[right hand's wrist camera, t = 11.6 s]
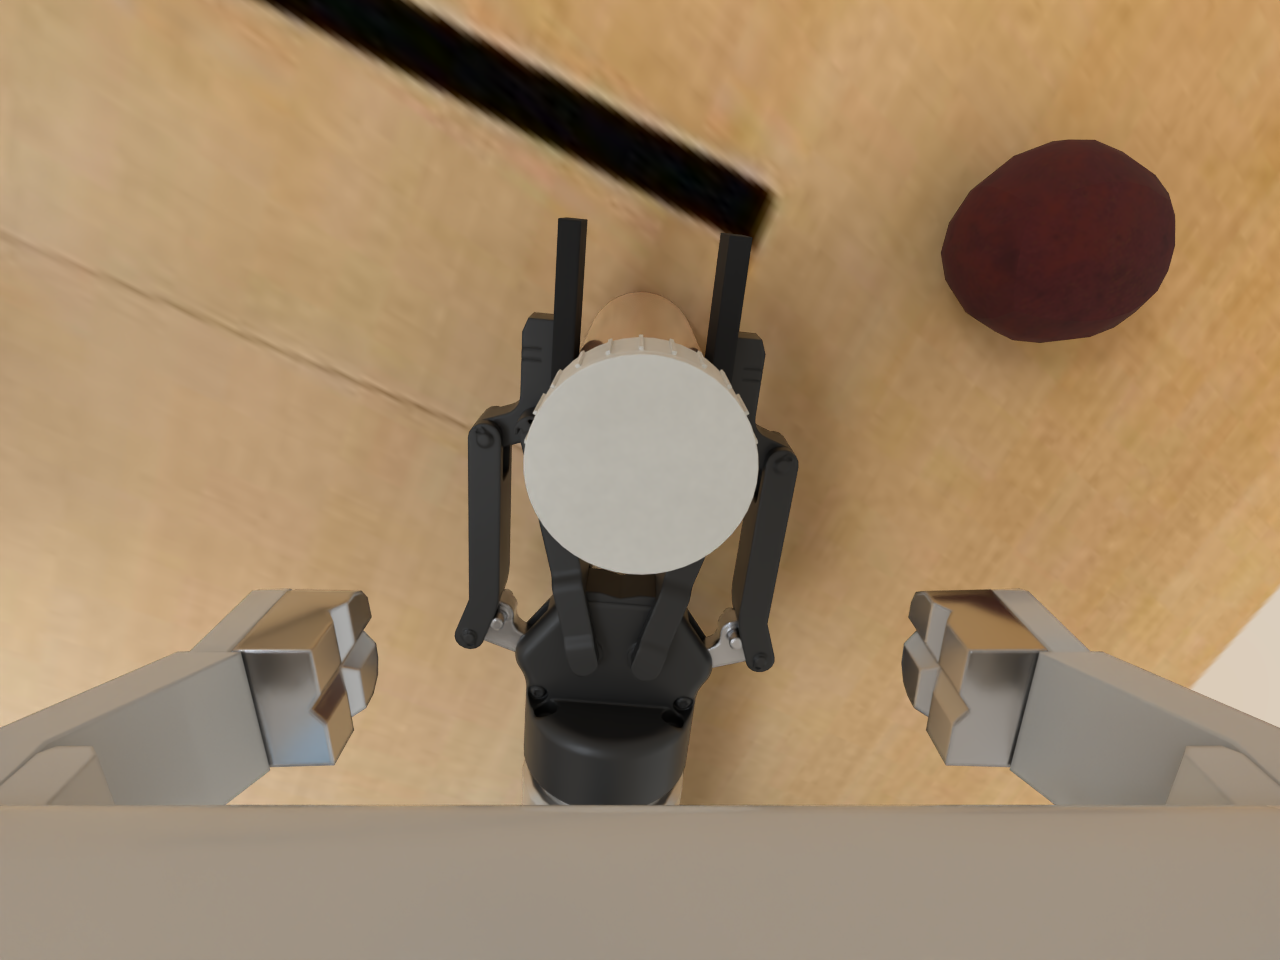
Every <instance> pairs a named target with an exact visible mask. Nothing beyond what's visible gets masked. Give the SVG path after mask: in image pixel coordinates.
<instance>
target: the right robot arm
mask: <svg viewBox="0 0 1280 960" xmlns="http://www.w3.org/2000/svg"><path fill="white" fill-rule="evenodd" d="M370 619H371V612H370V607H369V602H368V597H367V596H366V595H365V594H364V593H363V592H362V591H357V590H305V589H295V590H292V589H261V590H254V591H252V592H250V593H249V594H248V595H247V596H246V597H245V598H244V599H243V600H242V601H241V602H240V603H239V604H238V605H237V606H236V607H235V608H234V609H233V610H232V611H231V612H230V613H229V614H228V615H227V616H226V617H225V618H224V619H223V620H222V621H221V622H219V623H218V624H217V625H216V626H215V627H214V628H213V629H212V630H211V631H210V632H209V633H208V634H207V635H206V636H205V637H204V638H203V639H202V640H201V641H200V642H199V643H198V644H197V645H196V646H195V647H194V648H193V649H192V650H191V651H190V652H176V653H174V654H171V655H169V656H167V657H164V658H162V659H160V660H157V661H155V662H153V663H150V664H148V665H146V666H143V667H141V668H139V669H136V670H134V671H132V672H129V673H127V674H125V675H122V676H120V677H118V678H115V679H113V680H111V681H108V682H106V683H104V684H101V685H99V686H97V687H94V688H92V689H90V690H87V691H85V692H83V693H80V694H78V695H76V696H73V697H71V698H69V699H66V700H64V701H62V702H59V703H57V704H55V705H52V706H50V707H48V708H45V709H43V710H41V711H38V712H36V713H34V714H31V715H29V716H27V717H24V718H22V719H20V720H17V721H15V722H13V723H10V724H8V725H6V726H3V727H1V728H0V960H1280V728H1279V727H1276V726H1274V725H1272V724H1269V723H1267V722H1265V721H1262V720H1260V719H1258V718H1255V717H1253V716H1251V715H1248V714H1246V713H1244V712H1241V711H1239V710H1237V709H1234V708H1232V707H1230V706H1227V705H1225V704H1223V703H1220V702H1218V701H1216V700H1213V699H1211V698H1209V697H1207V696H1204V695H1202V694H1199V693H1197V692H1195V691H1193V690H1190V689H1188V688H1186V687H1183V686H1181V685H1179V684H1176V683H1174V682H1172V681H1169V680H1167V679H1165V678H1162V677H1160V676H1158V675H1155V674H1153V673H1151V672H1148V671H1146V670H1144V669H1141V668H1139V667H1137V666H1134V665H1132V664H1130V663H1127V662H1125V661H1123V660H1120V659H1118V658H1116V657H1113V656H1111V655H1109V654H1106V653H1104V652H1091V651H1090V650H1088V649H1087V648H1086V647H1085V646H1084V645H1083V644H1082V643H1081V642H1080V641H1079V640H1078V639H1077V638H1076V637H1075V636H1074V635H1073V634H1072V633H1071V632H1070V631H1069V630H1068V629H1067V628H1066V627H1065V626H1064V625H1063V624H1062V623H1061V622H1060V621H1059V620H1058V619H1057V618H1055V617H1054V616H1053V615H1052V614H1051V613H1050V612H1049V611H1048V610H1047V609H1046V608H1045V607H1044V606H1043V605H1042V604H1041V603H1040V602H1039V601H1038V600H1037V599H1036V598H1035V597H1034V596H1033V595H1032V594H1031V593H1030V592H1028V591H1026V590H1023V589H1020V588H1019V589H995V590H991V589H990V590H949V591H921V592H916V593H915V595H914V597H913V599H912V601H911V605H910V611H909V619H910V620H911V622H912V624H913V625H914V627H915V628H916V630H917V631H916V632H915V633H914V634H913V635H912V636H911V637H910V638H909V639H908V640H907V641H906V642H905V643H904V648H903V656H902V674H903V683H904V686H905V689H906V693H907V696H908V698H909V699H910V701H911V703H912V705H913V707H914V708H915V709H916V710H918V711H920V712H921V713H923V714H924V715H926V716H927V717H928V722H927V728H926V731H927V733H928V734H929V736H930V738H931V740H932V741H933V743H934V745H935V747H936V749H937V750H938V752H939V754H940V756H941V758H942V759H943V761H944V763H945V765H953V766H990V767H1010V770H1011V771H1012V772H1013V773H1014V774H1016V775H1017V776H1018V777H1020V778H1021V779H1022V780H1024V781H1025V782H1026V783H1027V784H1029V785H1030V786H1031V787H1033V788H1034V789H1035V790H1036V791H1038V792H1039V793H1040V794H1042V795H1043V796H1044V797H1046V798H1047V799H1048V800H1049V801H1051V802H1052V803H1053V804H1055V805H226V804H227V803H228V802H230V801H231V800H232V799H233V798H235V797H236V796H237V795H239V794H240V793H241V792H242V791H244V790H245V789H246V788H248V787H249V786H250V785H252V784H253V783H254V782H255V781H257V780H258V779H259V778H261V777H262V776H263V775H265V774H266V773H267V772H268V771H270V767H290V766H325V765H335V763H336V761H337V759H338V758H339V756H340V754H341V752H342V750H343V749H344V747H345V745H346V743H347V742H348V740H349V738H350V736H351V734H352V733H353V731H354V728H353V722H352V717H353V716H354V715H356V714H357V713H359V712H360V711H362V710H364V709H365V708H366V707H367V705H368V703H369V701H370V699H371V697H372V695H373V694H374V689H375V685H376V681H377V676H378V654H377V647H376V643H375V642H374V641H373V640H372V639H371V638H370V637H369V636H368V635H367V634H366V633H365V632H364V631H363V630H364V628H365V627H366V625H367V624H368V622H369V620H370Z"/></svg>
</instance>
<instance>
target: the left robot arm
mask: <svg viewBox="0 0 1280 960" xmlns="http://www.w3.org/2000/svg"><path fill="white" fill-rule="evenodd" d="M586 234H587V220H586V219H576V218H558V237H557V258H556V280H555V301H554V314H547V313H536V312H534V313H533V314H532V315H531V316H530V317H529V318H528V320H527V322H526V324H525V327H524V329H523V331H522V361H521V392H520V400H519V401H518V402H516V403H513V404H510V405H506V406H502V407H499V406H492V407H490V408H488V409H486V411H485V412H484V413H483V414H482V415H481V417H480V418H479V419H478V421H477V422H476V423H475V424H474V426H473V427H472V429H471V430H470V431H469V435H468V506H469V601H468V603H467V606H466V608H465V610H464V613H463V615H462V617H461V620H460V622H459V624H458V627H457V629H456V631H455V639H456V641H457V643H458V644H459V645H460V646H462V647H464V648H468V649H473V648H477V647H479V646H480V645H481V644H482V643H483V641H484V640H485V641H488V642H490V643H493V644H496V645H498V646H501V647H504V648H506V649H509V650H512V651H514V652H515V656H516V661H517V663H518V665H519V667H520V668H521V670H522V672H523V674H524V676H525V679H526V708H525V733H524V756H525V761H524V765H523V781H522V805H680V799H681V793H682V786H683V771H684V768H685V763H686V757H687V751H688V744H689V737H690V731H691V724H692V717H693V711H694V704H695V698H696V695H697V692H698V690H699V689H700V687H701V686H702V685H703V684H704V682H705V681H706V680H707V679H708V678H709V676H710V674H711V671H712V668H714V667H719V666H723V665H728V664H733V663H738V662H743V661H746V664H747V666H748V667H749V668H750V669H751V670H753V671H756V672H763V671H766V670H768V669H769V668H771V667H772V665H773V664H774V653H773V648H772V643H771V639H770V634H769V630H768V625H767V623H768V618H769V613H770V608H771V603H772V598H773V593H774V587H775V582H776V577H777V572H778V567H779V562H780V557H781V552H782V547H783V542H784V537H785V532H786V527H787V522H788V517H789V512H790V507H791V502H792V497H793V492H794V487H795V482H796V476H797V471H798V460H797V458H796V456H795V454H794V452H793V451H792V449H791V448H790V446H789V444H788V443H787V441H786V440H785V438H784V437H783V436H782V435H781V434H780V433H778V432H775V431H769V430H767V429H764V428H762V427H760V426H759V425H757V424H756V423H755V416H756V410H757V404H758V397H759V391H760V385H761V379H762V372H763V366H764V360H765V351H764V346H763V342H762V339H761V338H760V337H759V336H758V335H757V334H756V333H746V332H739V327H740V321H741V314H742V307H743V300H744V293H745V286H746V279H747V272H748V265H749V258H750V251H751V244H752V237H748V236H744V235H738V234H728V233H721V235H720V243H719V251H718V259H717V267H716V274H715V282H714V290H713V298H712V306H711V313H710V321H709V329H708V337H707V345H706V352H705V358H706V359H707V360H708V361H709V362H710V363H711V364H713V365H714V366H715V367H716V368H717V369H718V370H719V371H720V370H723V371H724V372H725V374H726V376H727V378H728V380H729V382H730V384H731V386H732V389H733V390H734V392H735V394H739V395H740V397H741V399H742V401H743V402H744V404H745V406H746V408H747V410H748V412H749V414H748V415H746V416H747V418H748V420H749V422H750V424H751V426H752V429H753V432H754V434H755V436H756V438H757V441H758V444H757V450H758V477H757V484H756V488H755V492H754V496H753V499H752V501H751V504H750V506H749V508H748V511H747V512H746V514H745V516H744V518H743V524H742V530H741V536H740V542H739V547H738V553H737V559H736V565H735V571H734V576H733V583H732V603H733V608H727V609H725V610H724V612H723V614H722V615H721V616H720V618H719V620H718V628H717V630H716V632H715V633H714V634H712V635H711V636H708V637H706V636H705V635H704V633H703V632H702V630H701V629H700V627H699V626H698V624H697V623H696V621H695V620H694V618H693V617H692V615H691V613H690V612H689V610H688V609H687V606H688V603H689V600H690V596H691V590H692V586H693V584H694V581H695V579H696V577H697V575H698V572H699V570H700V568H701V565H702V563H703V561H704V559H705V557H703V558H702V559H700V560H698V561H696V562H694V563H692V564H689V565H687V566H685V567H682V568H679V569H675V570H672V571H668V572H662V573H657V574H643V575H642V574H625V575H620V574H617V573H614V572H611V571H608V570H605V569H595V568H593V567H592V564H590V563H588V562H586V561H584V560H582V559H580V558H579V557H577V556H575V555H574V554H572V553H571V552H569V551H568V550H567V549H565V548H564V547H563V546H562V545H561V544H560V543H559V542H557V541H556V540H555V539H554V538H553V537H552V536H551V534H550V533H549V532H548V531H547V529H546V528H545V527H544V526H543V524H542V523H541V521H540V519H539V518H538V519H539V523H540V527H541V532H542V536H543V540H544V545H545V549H546V553H547V557H548V562H549V566H550V570H551V576H552V591H553V595H552V596H551V597H550V598H549V599H548V601H547V602H546V603H545V604H544V605H543V606H542V607H541V608H540V609H539V610H538V611H537V612H536V613H535V614H534V615H533V616H532V617H531V618H530V619H529V620H528V622H525V621H523V620H522V619H520V618H519V616H518V614H517V600H516V598H515V597H514V596H513V593H512V591H510V590H508V589H504V588H505V585H506V582H507V578H508V574H509V565H510V517H511V458H512V445H513V444H517V443H521V445H522V450H523V454H524V450H525V443H524V440H525V438H526V436H527V434H528V432H529V429H530V427H531V424H532V422H533V420H534V417H535V415H534V414H533V412H534V410H535V408H536V406H537V404H538V402H539V400H540V398H541V396H542V395H543V393H544V394H547V392H548V390H549V389H550V386H551V384H552V382H553V380H554V378H555V376H556V374H557V372H558V371H559V370H560V369H561V370H562V371H563V370H564V369H565V368H566V367H567V366H568V365H569V364H570V363H571V362H572V361H574V360H575V359H576V358H578V355H579V349H580V333H581V316H582V300H583V283H584V267H585V250H586Z"/></svg>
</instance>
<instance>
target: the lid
mask: <svg viewBox="0 0 1280 960" xmlns="http://www.w3.org/2000/svg"><path fill="white" fill-rule="evenodd" d="M533 414H534V415H535V417H534V420H533V422H532V424H531V427H530V429H529V432H528V434H527V436H526V438H525V440H524V443H525V450H524V478H525V485H526V489H527V492H528V496H529V499H530V502H531V504H532V506H533V508H534V511H535V513H536V515H537V516H538V518H539V519H540V521H541V523H542V524H543V526H544V527H545V528H546V529H547V531H548V532H549V533H550V534H551V536H552V537H553V538H554V539H555V540H556V541H557V542H559V543H560V544H561V545H562V546H563V547H564V548H565V549H567V550H568V551H569V552H571V553H572V554H574V555H575V556H577V557H579V558H580V559H582V560H584V561H586V562H588V563H590V564H592V565H595V566H597V567H600V568H603V569H607V570H610V571H614V572H620V573H626V574H642V575H643V574H657V573H662V572H668V571H672V570H675V569H679V568H682V567H685V566H687V565H689V564H692V563H694V562H696V561H698V560H700V559H702V558H703V557H705V556H707V555H708V554H710V553H711V552H713V551H714V550H715V549H716V548H718V547H719V546H720V545H721V544H722V543H723V542H724V541H725V540H726V539H727V538H728V537H729V536H730V535H731V534H732V533H733V532H734V531H735V529H736V528H737V527H738V525H739V524H740V523H741V521H742V519H743V518H744V516H745V514H746V512H747V511H748V508H749V506H750V504H751V501H752V499H753V496H754V492H755V488H756V484H757V477H758V450H757V444H758V441H757V438H756V436H755V434H754V432H753V429H752V426H751V424H750V422H749V420H748V418H747V416H746V415H748V414H749V412H748V410H747V408H746V406H745V404H744V402H743V401H742V399H741V397H740V395H739V394H735V392H734V390H733V389H732V386H731V384H730V382H729V380H728V378H727V376H726V374H725V372H724V371H723V370H720V371H719V370H718V369H717V368H716V367H715V366H714V365H713V364H711V363H710V362H709V361H708V360H707V359H706V358H704V357H703V354H702V352H700V351H699V350H698V352H695V351H693V350H691V349H689V348H687V347H685V346H683V345H680V344H677V343H675V342H674V339H670V340H669V341H668V340H663V339H657V338H647V337H643V335H639V337H635V338H624V339H619V340H615V341H613V339H608V343H605V344H602V345H599V346H597V347H595V348H593V349H591V350H589V351H587V352H585V351H584V350H583V351H582V352H580V355H579V357H578V358H576V359H575V360H574V361H572V362H571V363H570V364H569V365H568V366H567V367H566V368H565V369H564V370H563V371H562V370H561V369H560V370H559V371H558V372H557V374H556V376H555V378H554V380H553V382H552V384H551V386H550V389H549V390H548V392H547V394H544V393H543V395H542V396H541V398H540V400H539V402H538V404H537V406H536V408H535V410H534V412H533Z"/></svg>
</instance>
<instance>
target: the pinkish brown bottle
mask: <svg viewBox="0 0 1280 960" xmlns="http://www.w3.org/2000/svg"><path fill="white" fill-rule="evenodd" d="M639 335H643V337H647V338H657V339H663V340H668V341H669V340H670V339H674V342H675V343H677V344H680V345H683V346H685V347H687V348H689V349H691V350H693V351H695V352H698V350H699V351H700V352H701V349H700V347H699V345H698V343H697V340H696V338H695V336H694V333H693V331H692V329H691V326H690V324H689V322H688V320H687V318H686V317H685V315H684V314H683V312H682V311H681V310H680V309H679V308H678V307H677V306H676V305H675V304H674V303H672V302H671V301H669V300H668V299H666V298H664V297H662V296H660V295H657V294H654V293H648V292H633V293H628V294H624V295H622V296H619V297H617V298H615V299H613V300H612V301H610V302H609V303H608V304H606V305H605V306H604V307H603V308H602V309H601V310H600V312H599V313H598V314H597V316H596V317H595V319H594V321H593V323H592V325H591V327H590V330H589V332H588V334H587V337H586V339H585V341H584V344H583V346H582V348H581V351H580V352H582V351H583V350H584V351H585V352H587V351H589V350H591V349H593V348H595V347H597V346H599V345H602V344H605V343H608V339H613V341H615V340H619V339H624V338H635V337H639ZM579 355H580V353H579ZM579 355H578V357H579ZM703 357H704V356H703Z"/></svg>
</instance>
